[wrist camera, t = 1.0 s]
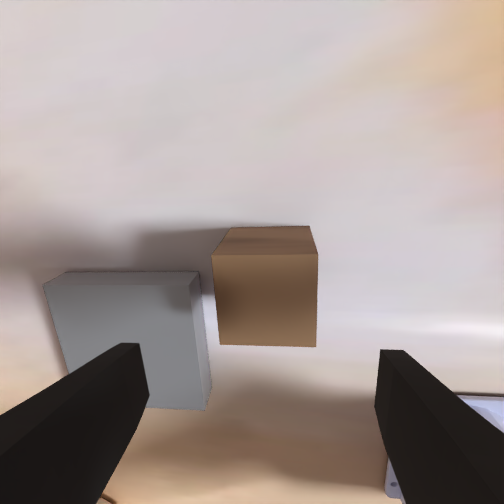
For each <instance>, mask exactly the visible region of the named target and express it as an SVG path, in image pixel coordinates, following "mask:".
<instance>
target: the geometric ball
mask: <svg viewBox="0 0 504 504" xmlns="http://www.w3.org/2000/svg"><path fill="white" fill-rule="evenodd" d="M96 504H111V503H110V502H108V501H106V500H105V499H103V498H99V500H98V502H97V503H96Z"/></svg>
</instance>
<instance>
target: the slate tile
mask: <svg viewBox="0 0 504 504" xmlns="http://www.w3.org/2000/svg"><path fill="white" fill-rule="evenodd" d="M43 288H44V292H45V295H46V298H47V302H48V305H49V308H50V312H51V315H52V319H53V322H54V325H55V329H56V332H57V335H58V339H59V342H60V345H61V349H62V352H63V355H64V359H65V362H66V365H67V369H68V372H69V374H70V373H72V372H73V371H75V370H76V369H78V368H80V367H81V366H83V365H84V364H86V363H87V362H89V361H91V360H92V359H94V358H95V357H97V356H99V355H100V354H102V353H103V352H105V351H107V350H108V349H110V348H112V347H114V346H116V345H117V344H119V343H140V348H141V354H142V359H143V364H144V369H145V374H146V379H147V384H148V389H149V394H150V396H149V399H148V401H147V404H146V408H165V409H183V410H202V411H205V408H206V405H207V402H208V399H209V396H210V393H211V389H212V383H211V374H210V366H209V357H208V348H207V339H206V331H205V322H204V313H203V305H202V296H201V287H200V278H199V272H65V273H64V274H62V275H60V276H58V277H56V278H54V279H53V280H51V281H49V282H47V283H45V284H43Z"/></svg>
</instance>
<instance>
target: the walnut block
mask: <svg viewBox="0 0 504 504" xmlns="http://www.w3.org/2000/svg"><path fill="white" fill-rule="evenodd" d="M211 260H212V270H213V280H214V290H215V300H216V310H217V320H218V330H219V341H220V345H254V346H293V347H316V329H317V285H318V252H317V249H316V246H315V242H314V239H313V236H312V233H311V230H310V226H281V227H236V228H231V229H230V230H229V231H228V233H227V234H226V236H225V237H224V238H223V240H222V241H221V242H220V244H219V245H218V247H217V248H216V249H215V251H214V252H213V254H212V255H211Z"/></svg>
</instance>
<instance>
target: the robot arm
mask: <svg viewBox="0 0 504 504" xmlns="http://www.w3.org/2000/svg"><path fill="white" fill-rule="evenodd" d="M149 396H150V394H149V389H148V384H147V379H146V374H145V369H144V364H143V359H142V354H141V348H140V343H119V344H117V345H116V346H114V347H112V348H110V349H108V350H107V351H105V352H103V353H102V354H100V355H99V356H97V357H95V358H94V359H92V360H91V361H89V362H87V363H86V364H84V365H83V366H81V367H80V368H78V369H76V370H75V371H73V372H72V373H70V374H68V375H67V376H65V377H64V378H62V379H60V380H59V381H57V382H56V383H54V384H52V385H51V386H49V387H48V388H46V389H44V390H42V391H41V392H39V393H37V394H36V395H34V396H32V397H31V398H29V399H27V400H25V401H24V402H22V403H20V404H19V405H17V406H15V407H14V408H12V409H10V410H9V411H7V412H5V413H3V414H2V415H0V504H96V503H97V502H98V500H99V498H100V496H101V494H102V492H103V490H104V489H105V487H106V485H107V483H108V481H109V479H110V478H111V476H112V474H113V472H114V470H115V468H116V467H117V465H118V463H119V461H120V459H121V457H122V455H123V454H124V452H125V450H126V448H127V446H128V444H129V442H130V440H131V439H132V437H133V435H134V433H135V431H136V429H137V427H138V424H139V422H140V419H141V417H142V415H143V412H144V409H145V407H146V404H147V401H148V399H149ZM374 407H375V411H376V415H377V419H378V423H379V427H380V431H381V435H382V439H383V442H384V446H385V449H386V451H387V454H388V464H387V472H386V479H385V487H384V489H385V493H386V495H387V496H388V497H390V498H397V499H401V502H402V504H504V397H488V396H465V395H456V394H454V393H453V392H452V391H451V390H450V389H448V388H447V387H446V386H445V385H444V384H443V383H441V382H440V381H439V380H438V379H437V378H436V377H434V376H433V375H432V374H431V373H430V372H429V371H427V370H426V369H425V368H424V367H423V366H422V365H420V364H419V363H418V362H417V361H416V360H415V359H413V358H412V357H411V356H410V355H409V354H407V353H406V352H405V351H404V350H382V349H380V358H379V368H378V377H377V387H376V396H375V406H374Z"/></svg>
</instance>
